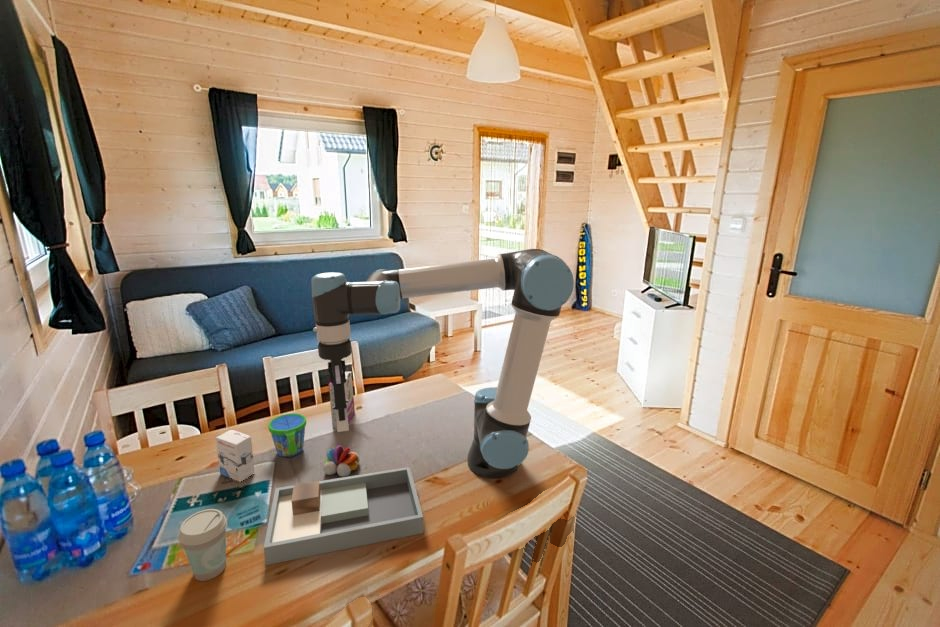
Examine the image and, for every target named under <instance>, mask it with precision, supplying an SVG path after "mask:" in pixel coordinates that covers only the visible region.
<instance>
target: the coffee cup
mask: <svg viewBox="0 0 940 627" xmlns="http://www.w3.org/2000/svg"><path fill="white" fill-rule="evenodd" d="M227 525H228V520H227V517H226V516H225V515H224V514H223V512H222V511H221V510H219V509H216V508H207V509H203V510H200V511H197V512H195V513H193V514H191V515H189V516H188V517H187V518H186V519H185V520H183V522H182V523H181V525H180V528H179V531H178V541H179V543H181V545H182V547H183V550H184V553H185V555H186V558H187V560H188V563H189V566H190V569H191V571H192V574H193V577H194V578H195V579H196V580H197V581H200V582H203V581H204V582H205V581H206V582H207V581H209V580H212V579H214V578H216V577H217V576H219V575H220V574H222V572H223V571H224V570H225V569H226V566H227V541H226V540H227V539H226V538H227V537H226V536H227V535H226V533H227V532H226V531H227V530H226V528H227Z"/></svg>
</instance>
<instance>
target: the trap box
mask: <svg viewBox="0 0 940 627" xmlns="http://www.w3.org/2000/svg"><path fill="white" fill-rule="evenodd" d="M318 481H319V480H318ZM304 484H306V483H304ZM294 485H295V484H294ZM294 485H287V486H281V487H275V490H274V495H273V499H272V504H271V509H270V513H269V519H268V524H267V529H266V533H265V538H264V544H263V552H264V561H265V566H268V565H274V564H278V563H283V562H287V561H292V560H299V559H303V558H307V557H313V556H318V555H322V554H327V553H331V552H337V551H342V550H346V549H353V548H356V547H363V546H367V545H372V544H376V543H381V542H382V543H383V542H386V541H392V540H395V539H401V538H406V537H407V538H408V537H410V536H411V537H412V536H416V535H419V534H420V535H421V534H424V532H425V531H424V514H423V510H422V507H421V504H420V500H419V496H418V493H417V489H416V484H415V482H414V477H413V474H412V470H411V467H410V466H407V467H400V468H399V467H398V468H393V469H388V470H382V471H375V472H370V473H363V474H358V475H357V474H355V475H350V476H349V475H348V476H346V477H339V478H338V477H337V478H331V479H325V480H320V481H319V485H320V511H316V512H310V513H305V514H299V515H293V511H292V502H291V501H292V494H293V487H294ZM298 485H300V483H299V484H298Z"/></svg>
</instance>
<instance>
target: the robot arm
mask: <svg viewBox="0 0 940 627" xmlns="http://www.w3.org/2000/svg"><path fill="white" fill-rule="evenodd" d="M574 280H575V278H574V275H573V272H572V270H571V268H570V266H569V265H568V264H567V263H566V261H564V260H563V259H562V258H560V257H559V256H557V255H555V254H552V253H550V252H548V251H546V250H544V249H541V248H529V249H524V250H517V251H511V252H507V253H506V252H505V253H498V254H497V256H495V258H487V259H479V260H471V261H461V262H454V263H451V262H450V263H445V264H435V265H426V266H425V265H424V266H417V267H411V268H402V269H401V268H400V269H392V270H388V269H384V268H382V269H378V270H374V271H372V272H371V273H370V274H369V275H368V277H367V279H366V280H365V281H352V282H351V281H347V279H346V275H345V274H344V273H342V272H334V271H332V272H331V271H330V272H323V273H321V272H320V273H317V274H315V275H314V276H312V278H311V280H310V281H311V283H310V284H311V298H312V305H313V314H314V321H315V322H314V324H315V327H313V328H312V331H313V332H316V340H317V341H318V342H317V352H318V357H319V358H320V359H322V360H324V361H327V371H328V373H329V378H330V380H329V381H330V382H331V383H332V384H333V388H334V397H335V406H332V409H335V412H336V421H337V429H336V430H337V431H336V432H337V433H340V432H341V433H342V432H347V431H350V427H349V424H348V415H347V404H346V403H348V402H349V400H348V399H346V398H345V388H344V382H345V381H346V377H345V371H347V369H346V368H347V366H346V361H345V359H346V358H347V357H348V358H349V356H351V355H352V353H353V350H352V349H353V348H352V347H353V346H352V339H351V336H352V333H351V324H350V315H353V316H355V315H356V316H357V315H388V314H397V313H399V311H400V310H401V299H402V300H403V299H409V298H410V299H411V298H416V297H425V296H434V295H443V294H451V293H452V294H453V293H462V292H469V291H477V290H484V289H485V290H487V289H494V288H498V289H500V290H502V292H503V291H513V296H512V300H511V302H510V303H511V304H510V305H511V307H512V309H513V310H514V312H515V314H514V317H513V321H512V327H511V330H510V334H509V337H508V342H507V346H506V351H505V355H504V358H503V363H502V366H501V367H502V368H501V371H500V375H499V380H498V384H497V387H496V386H493V387H485V388H484V387H483V388H481V389H479V390H477V391H476V392H475V394H474V400H473V404H474V407H473V408H474V412H473V413H474V416H473V417H474V418H473V440H472V442H471V445H470V447H469V450H468V453H467V466H468V469H470V471H471V472H473V473H474V472H475V474H476V473H477V474H476V475H478V474H479V475H478V476H480V475H481V477H483V476H484V478H489V479H500V478H505V477H508V476H511V475H513V474H514V473H515V472H516V471H517V470H518V468H519V465H520V464H522V463H523V462H524V461H525V460H526V458H527V456H528V454H529V452H530V451H529V447H530V446H529V440H528V439H527V437H528V436H527V435H528V432H529V428H530V425H531V421H532V416H531V414H530V412H529V411H528V408H529V404H530V400H531V396H532V393H533V389H534V386H535V382H536V378H537V374H538V371H539V367H540V363H541V359H542V356H543V352H544V348H545V344H546V341H547V336H548V333H549V329H550V327H551V323H552V321H553V320H555V319H557V318H559V317H560V314H561V310H562V306H563V305H564V304H565V305H566V303H567V302H568V300H569V299H570V298H571V296H572V293H573V292H574V286H575V282H574ZM344 358H345V359H344ZM342 371H343V372H342ZM512 473H513V474H512Z"/></svg>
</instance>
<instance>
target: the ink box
mask: <svg viewBox="0 0 940 627" xmlns="http://www.w3.org/2000/svg"><path fill="white" fill-rule="evenodd" d="M215 442H216V443H215V444H216V450H217V457H218V458H217V459H218V466H219V474H220V476H221V475H222V476H224V477H226V478H228V479H231V478H232V479H231V480H233V479H234V480H233V481H236V480H237V481H236V482H238V481H239V482H238V483H242V482H244V481H246V480H247V479H248V478H247V477H249V476H250V475H252V474H253V473H255V464H254V452H253V443H252V436H251V435H248V434H247V433H243V432H241V431H237V430H233V429H230V430H227V431H225V432H223V433H221V434H219V435H217V436H216V437H215ZM252 476H253V475H252ZM246 478H247V479H246ZM249 478H250V477H249ZM245 479H246V480H245ZM243 480H244V481H243ZM241 481H242V482H241Z"/></svg>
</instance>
